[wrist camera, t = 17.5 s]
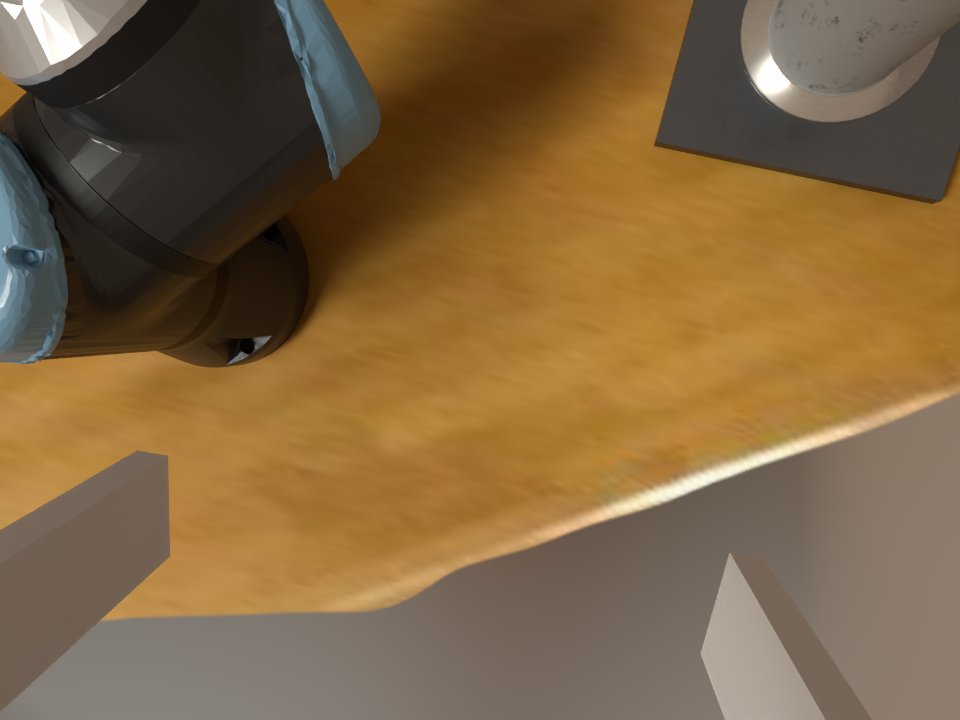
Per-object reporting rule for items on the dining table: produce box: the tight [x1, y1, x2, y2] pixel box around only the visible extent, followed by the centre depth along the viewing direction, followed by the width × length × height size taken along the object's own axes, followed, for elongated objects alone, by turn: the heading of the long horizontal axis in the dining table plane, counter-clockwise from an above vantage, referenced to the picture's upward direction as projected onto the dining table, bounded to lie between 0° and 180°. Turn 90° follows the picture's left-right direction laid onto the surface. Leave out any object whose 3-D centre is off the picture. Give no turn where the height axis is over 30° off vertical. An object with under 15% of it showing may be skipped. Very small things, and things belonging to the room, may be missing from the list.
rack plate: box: [654, 0, 960, 204], centre depth 38 cm, size 20×20×4 cm
